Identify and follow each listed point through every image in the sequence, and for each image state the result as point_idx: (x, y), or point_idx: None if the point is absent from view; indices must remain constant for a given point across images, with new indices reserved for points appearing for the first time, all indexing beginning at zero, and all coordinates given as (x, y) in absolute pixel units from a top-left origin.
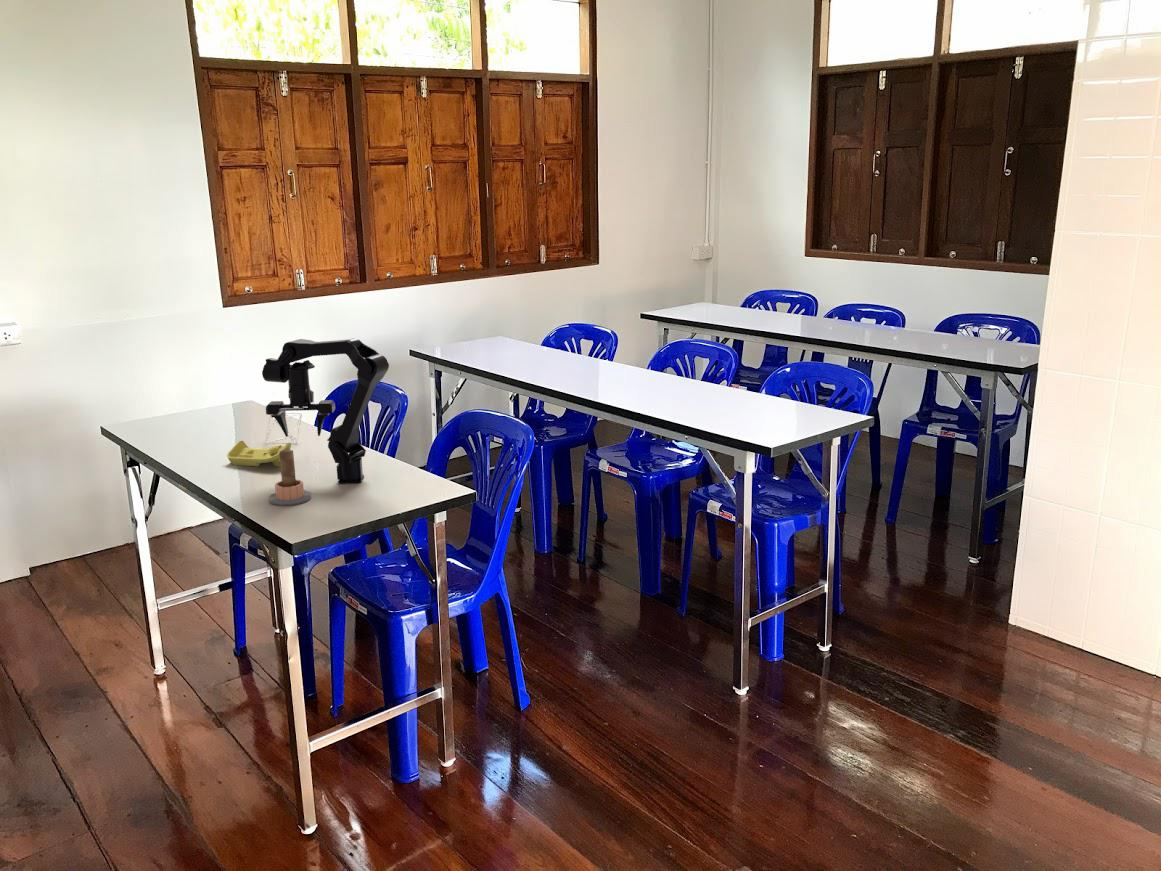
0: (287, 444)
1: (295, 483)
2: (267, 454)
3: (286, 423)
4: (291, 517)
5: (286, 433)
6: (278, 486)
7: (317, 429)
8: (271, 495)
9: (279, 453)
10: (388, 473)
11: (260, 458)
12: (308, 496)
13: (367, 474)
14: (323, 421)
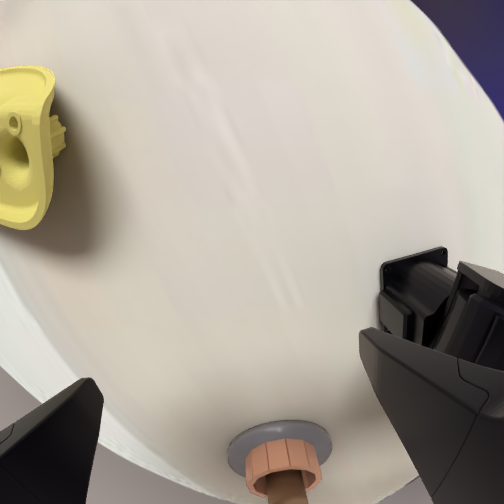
0: (40, 136)
1: (303, 481)
2: (2, 168)
3: (31, 436)
4: (318, 494)
5: (99, 427)
6: (266, 496)
7: (388, 417)
8: (231, 462)
9: None
10: (490, 202)
11: (3, 221)
12: (329, 451)
13: (447, 217)
14: (482, 379)
